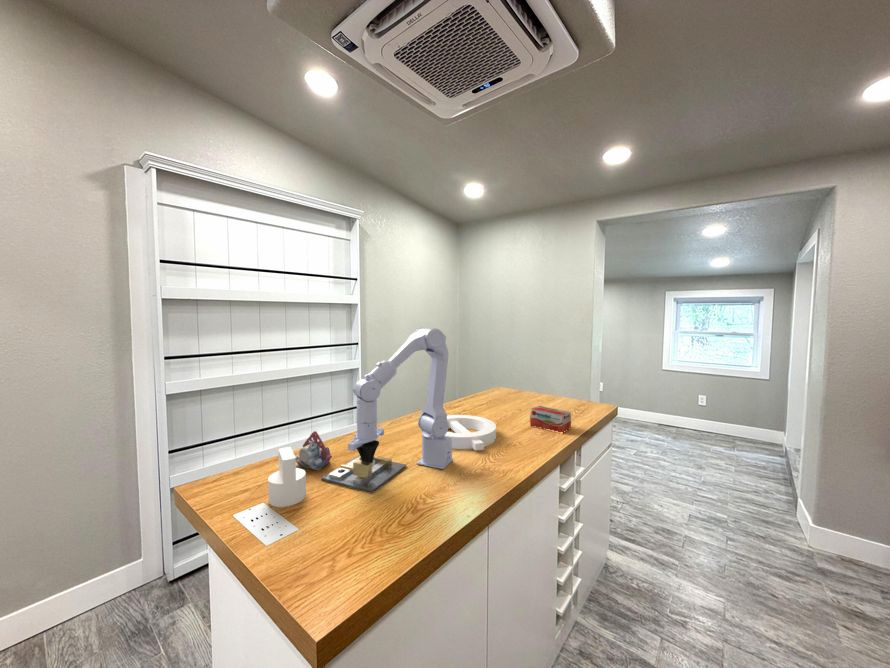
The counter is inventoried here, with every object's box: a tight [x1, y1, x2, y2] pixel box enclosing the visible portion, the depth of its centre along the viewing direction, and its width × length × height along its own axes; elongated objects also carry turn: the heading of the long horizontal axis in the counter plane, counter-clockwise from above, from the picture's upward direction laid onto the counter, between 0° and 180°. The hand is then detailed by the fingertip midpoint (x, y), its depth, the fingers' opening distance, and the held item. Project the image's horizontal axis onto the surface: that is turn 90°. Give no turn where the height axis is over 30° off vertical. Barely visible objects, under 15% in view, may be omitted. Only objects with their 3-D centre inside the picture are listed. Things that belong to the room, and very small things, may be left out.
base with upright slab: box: [267, 446, 307, 508], centre depth 91 cm, size 9×9×12 cm
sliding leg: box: [339, 460, 372, 478], centre depth 100 cm, size 10×2×4 cm, turn 66°
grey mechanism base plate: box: [321, 455, 407, 494], centre depth 105 cm, size 18×18×3 cm
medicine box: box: [529, 405, 572, 433], centre depth 149 cm, size 15×8×8 cm, turn 48°
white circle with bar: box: [445, 414, 497, 451], centre depth 139 cm, size 28×28×5 cm
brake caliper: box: [295, 430, 333, 471], centre depth 110 cm, size 11×11×12 cm
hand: (367, 466), depth 101 cm, fingers closed
